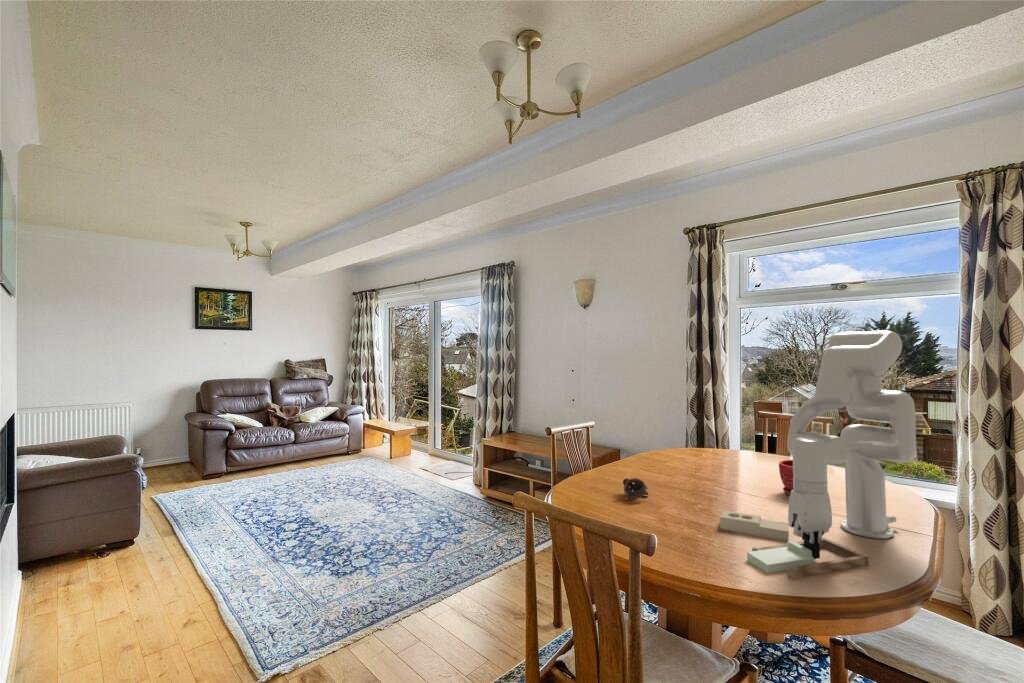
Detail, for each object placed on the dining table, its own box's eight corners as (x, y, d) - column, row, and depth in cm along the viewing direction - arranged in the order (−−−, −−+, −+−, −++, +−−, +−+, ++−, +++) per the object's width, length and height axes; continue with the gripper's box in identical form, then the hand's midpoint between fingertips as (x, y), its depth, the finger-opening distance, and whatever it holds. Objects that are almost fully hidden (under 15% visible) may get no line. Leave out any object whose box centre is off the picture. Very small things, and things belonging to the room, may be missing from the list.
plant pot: (808, 489, 177) (808, 458, 178) (828, 501, 164) (828, 467, 164) (773, 489, 179) (772, 458, 179) (790, 500, 166) (789, 467, 166)
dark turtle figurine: (655, 500, 170) (652, 483, 167) (637, 515, 167) (633, 498, 163) (632, 484, 180) (628, 468, 177) (615, 497, 177) (610, 482, 173)
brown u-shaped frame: (823, 544, 129) (823, 535, 129) (868, 564, 117) (868, 554, 117) (752, 556, 122) (752, 547, 122) (792, 579, 110) (791, 568, 110)
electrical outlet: (788, 528, 132) (719, 516, 141) (788, 542, 132) (720, 530, 141) (788, 520, 138) (722, 509, 147) (788, 533, 138) (723, 522, 147)
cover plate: (791, 555, 124) (791, 539, 124) (814, 567, 117) (814, 551, 117) (747, 561, 120) (747, 545, 120) (767, 574, 114) (767, 558, 114)
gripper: (819, 479, 126) (821, 546, 125) (775, 484, 122) (776, 554, 121) (845, 487, 118) (847, 558, 118) (800, 493, 114) (802, 567, 114)
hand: (811, 556), depth 120 cm, fingers closed
